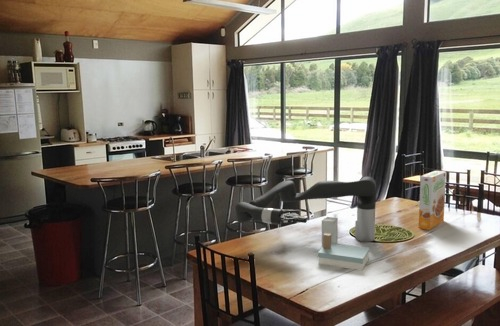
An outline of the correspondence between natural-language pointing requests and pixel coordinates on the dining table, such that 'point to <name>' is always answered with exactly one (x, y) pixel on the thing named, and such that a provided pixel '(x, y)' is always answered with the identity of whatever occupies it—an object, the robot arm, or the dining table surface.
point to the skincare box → (330, 228)
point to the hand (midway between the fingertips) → (306, 220)
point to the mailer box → (344, 263)
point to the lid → (342, 251)
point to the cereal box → (432, 199)
